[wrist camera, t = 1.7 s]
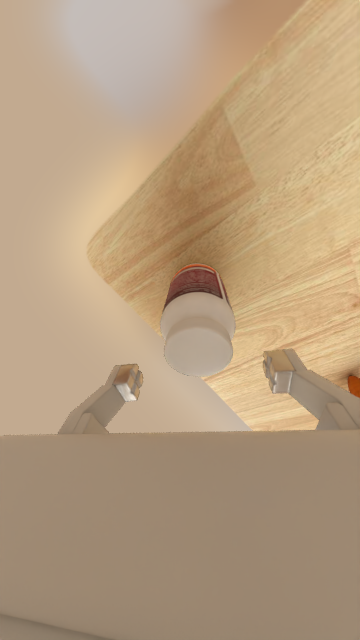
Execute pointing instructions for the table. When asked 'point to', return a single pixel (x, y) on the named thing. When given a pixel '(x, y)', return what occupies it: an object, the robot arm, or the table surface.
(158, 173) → the table surface
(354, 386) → the carrot
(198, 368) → the pill bottle
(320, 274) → the table surface
